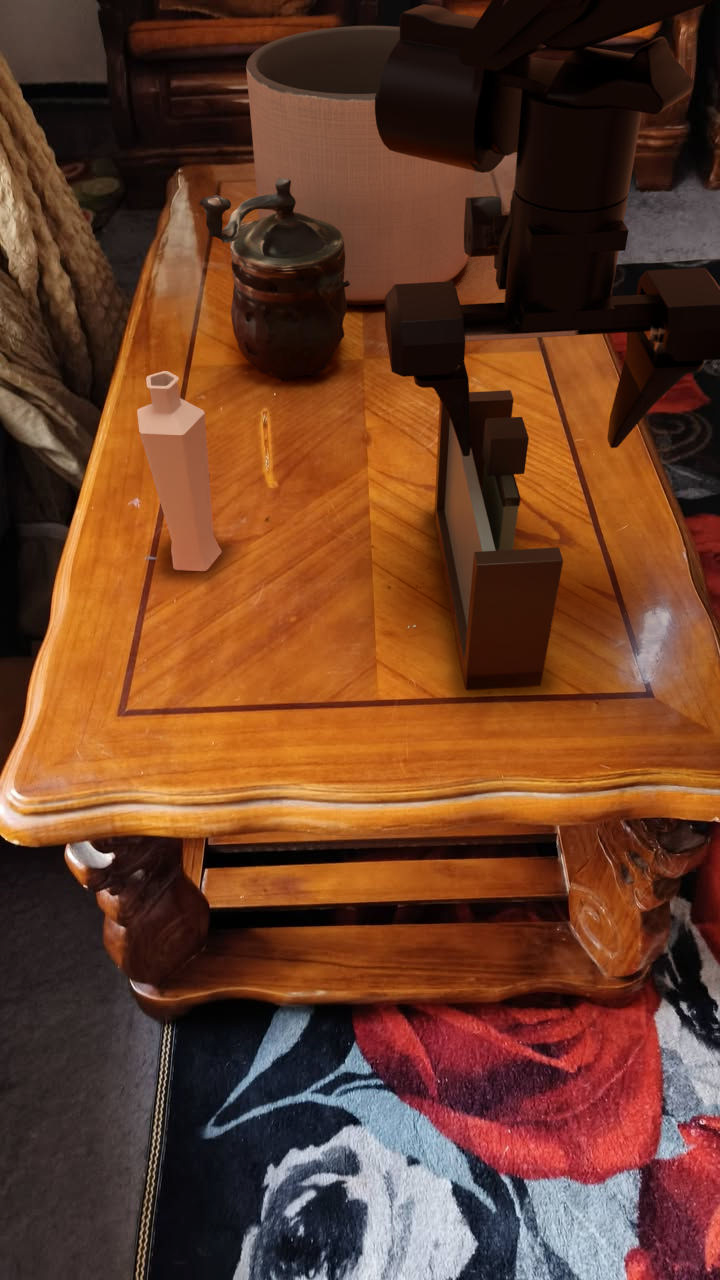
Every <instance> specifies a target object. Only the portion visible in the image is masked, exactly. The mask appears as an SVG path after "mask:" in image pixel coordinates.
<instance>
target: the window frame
mask: <svg viewBox="0 0 720 1280" xmlns="http://www.w3.org/2000/svg"><path fill="white" fill-rule="evenodd" d="M469 399H470V418H471V437H472V442H471V449H470V455H469V456H463V455H462V452H461V449H460V446H459V443H458V440H457V437H456V434H455V431H454V428H453V425H452V422H451V419H450V416H449V414H448V412H447V411H446V409H445V407H444V405H443V404H442V402H441V400H440V399H439V409H438V426H437V427H438V429H437V447H436V448H437V449H436V468H435V469H436V470H435V489H434V490H435V491H434V513H433V517H434V523H435V528H436V534H437V539H438V544H439V551H440V556H441V562H442V568H443V574H444V578H445V584H446V591H447V595H448V601H449V606H450V612H451V617H452V622H453V629H454V634H455V641H456V647H457V650H458V651H457V652H458V657H459V662H460V667H461V673H462V679H463V680H462V681H463V685H464V689H465V690H466V691H467V690H468V691H470V690H485V689H486V690H488V689H502V688H504V689H505V688H520V687H521V688H522V687H539V686H541V685H542V680H543V674H544V670H545V665H546V658H547V653H548V648H549V643H550V642H549V641H550V637H551V630H552V625H553V621H554V620H553V619H554V614H555V609H556V602H557V598H558V592H559V587H560V583H561V576H562V570H563V565H564V558H563V555H562V552H561V551H562V550H561V548H560V547H559V546H557V547H556V546H555V547H538V548H537V547H535V548H520V549H513V550H498V551H496V550H495V546H494V542H493V538H492V534H491V529H490V525H489V521H488V517H487V513H486V508H485V504H484V500H483V496H482V485H483V474H484V459H483V455H482V451H483V440H484V429H485V419H487V418H507V417H513V416H512V415H513V409H514V408H513V407H514V397H513V393H512V390H510V389H506V390H487V391H469Z"/></svg>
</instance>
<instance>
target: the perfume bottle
mask: <svg viewBox="0 0 720 1280" xmlns="http://www.w3.org/2000/svg"><path fill="white" fill-rule="evenodd" d="M179 380H180V377H179V376H178V375H175V374H174V373H172V372H171V371H168V370H162V371H160V372H156V373H153V374H150V375H147V376H146V378H145V381H146V382H145V383H146V388H147V389H149V394H150V399H151V403H149V404H147V405H144V406H142V407H139V408H138V409H137V410H136V414H137V422H138V432H139V435H140V439H141V442H142V445H143V446H142V447H143V449H144V451H145V455H146V459H147V463H148V466H149V469H150V472H151V476H152V479H153V482H154V487H155V489H156V493H157V496H158V500H159V503H160V507H161V509H162V513H163V516H164V519H165V523H166V527H167V530H168V532H169V536H170V540H171V547H170V549H171V550H170V552H171V559H172V560H171V561H172V568H173V570H176V571H188V572H189V571H190V572H191V571H192V572H206V571H208V570H209V569H210V568H211V566H212V565H213V564H214V562H216V561H217V559H218V558H219V557H220V555H221V554H222V551H223V550H222V549H221V547H220V545H219V543H218V542H217V540H216V538H215V535H214V534H215V533H214V522H213V509H212V495H211V480H210V468H209V454H208V453H209V452H208V440H207V439H208V438H207V427H206V413H205V410H203V409H202V408H200V407H198V406H196V405H194V404H192V403H191V402H189V401H187V400H185V399H183V398H181V393H180V389H179V384H178V382H179Z"/></svg>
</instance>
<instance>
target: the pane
mask: <svg viewBox="0 0 720 1280" xmlns="http://www.w3.org/2000/svg"><path fill="white" fill-rule="evenodd" d="M529 439H530V437H529V433H528V431H527V427H526V425H525V421H524V418H523V416H512V417H507V418H487V419H485V429H484V440H483V451H482V455H483V459H484V474H483V485H482V496H483V500H484V504H485V508H486V513H487V517H488V521H489V525H490V529H491V534H492V538H493V542H494V546H495V550H496V551H498V550H514V547H515V538H516V531H517V530H516V529H517V523H518V515H519V508H520V505H521V499H522V498H521V494H520V491H519V487H518V483H517V481H516V480H517V479H516V478H515V475H524V474H525V471H526V464H527V463H526V462H527V455H528V448H529Z"/></svg>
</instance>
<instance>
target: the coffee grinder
mask: <svg viewBox="0 0 720 1280" xmlns="http://www.w3.org/2000/svg"><path fill="white" fill-rule="evenodd" d="M290 185H291V181H290V180H289V179H287V178H278V179H277V181H276V184H275V187H276V190H277V193H274V194H269V195H264V196H258V197H257V196H253V197H251V198H248V199H246V200H244V201H242V202H241V203H240V204H239V205H238V207H237V208H236V209H235V210H233V212H232V213H231V215H230V216H229V221H228V223H227V225H225V227H223V225H224V224H223V223H224V222H223V214H224V213H225V212H226V211H229V210H230V209H231V208H232V203H231V200H230V199H228V198H225V197H222V196H220V195H219V194H215V195H212V196H210V195H209V196H206V197H203V198H201V199H200V200H199V202H198V205H200V206H201V207H202V208H203V210H204V212H205V218H206V219H205V220H206V221H205V222H206V223H205V224H206V227H207V230H208V235H209V236H210V237H212V238H217V239H219V240H221V242H222V243H223V244H229V248H230V249H229V250H230V258H231V271H232V279H233V290H232V300H231V309H230V316H231V324H232V329H233V330H232V331H233V335H234V338H235V340H236V342H237V347H238V350H239V351H240V352H241V353H242V355H243V356H244V358H245V360H246V361H247V362H248V363H249V364H250V365H251V366H252V367H253V368H255V369H256V370H257V371H258V372H259V373H261V374H265V375H272V376H274V377H275V378H276V379H277V380H279V381H280V382H284V381H290V380H293V379H295V378H298V377H301V376H305V375H309V376H310V377H314V376H317V375H318V374H319V373H321V372H323V371H324V370H325V369H326V367H327V364H329V362H330V361H331V359H332V358H333V357H334V355H335V353H336V351H337V349H338V348H340V347H339V346H340V344H341V342H342V341H343V338H344V337H345V330H344V327H343V326H344V325H343V324H344V320H345V316H346V313H347V309H348V305H347V302H346V296H345V289H344V287H348V286H349V285H350V283H349V282H348V280H347V281H345V282H344V270H345V246H344V239H343V236H342V234H341V232H340V231H339V230H338V229H336V228H335V227H334V226H333V225H331V224H329V223H326V222H324V221H322V220H317V219H315V218H310V217H308V216H306V215H303V214H300V213H296V212H293V209H294V207H295V204H296V201H295V199H294V197H293V196H292V195H291V193H290ZM258 209H269V210H274V211H275V212H276V213H274V214H271V215H269V216H267V217H264V218H261V219H260V220H259V219H257V220H252V221H248V222H245V221H243V220H244V219H245V217H246V216H247V215H248V214H250V212H253V211H255V210H258Z"/></svg>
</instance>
